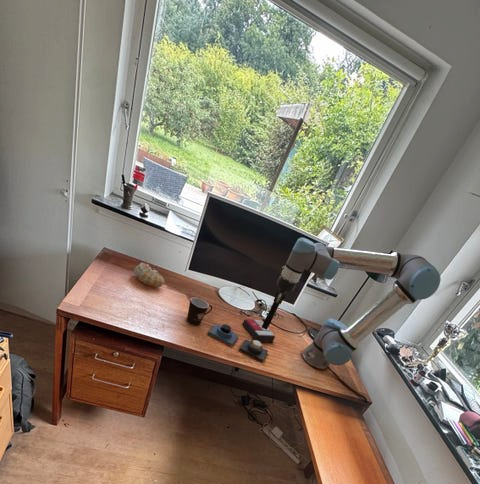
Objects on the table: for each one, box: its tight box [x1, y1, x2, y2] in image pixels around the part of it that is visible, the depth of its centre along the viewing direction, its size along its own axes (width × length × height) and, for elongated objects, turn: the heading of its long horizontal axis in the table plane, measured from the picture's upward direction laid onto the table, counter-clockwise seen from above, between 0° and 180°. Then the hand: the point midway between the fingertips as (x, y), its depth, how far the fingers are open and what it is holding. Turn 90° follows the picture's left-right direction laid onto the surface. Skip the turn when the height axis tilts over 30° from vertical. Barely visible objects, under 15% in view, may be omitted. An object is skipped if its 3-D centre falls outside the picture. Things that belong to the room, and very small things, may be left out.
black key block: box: [238, 339, 269, 363], centre depth 159 cm, size 12×10×4 cm
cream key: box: [252, 339, 263, 349], centre depth 158 cm, size 4×4×2 cm
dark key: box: [221, 323, 232, 333], centre depth 158 cm, size 4×4×2 cm
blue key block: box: [207, 323, 239, 347], centre depth 159 cm, size 12×10×4 cm
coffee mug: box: [186, 297, 213, 326], centre depth 157 cm, size 12×9×10 cm
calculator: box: [242, 318, 276, 343], centre depth 174 cm, size 11×4×15 cm
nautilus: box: [133, 261, 166, 288], centre depth 169 cm, size 8×22×15 cm
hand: (264, 327), depth 152 cm, fingers closed
